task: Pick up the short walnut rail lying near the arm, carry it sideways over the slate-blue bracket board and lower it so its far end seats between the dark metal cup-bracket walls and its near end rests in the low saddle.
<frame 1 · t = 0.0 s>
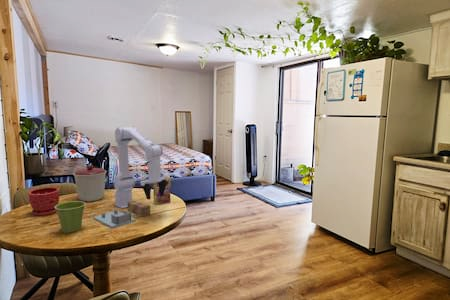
hand: (155, 197, 135), 10 cm above the table, tool pointing down, fingers open, 7 cm apart
candy box: (162, 203, 159), on the table
plant pot 2: (45, 213, 142), on the table
bracket board: (114, 219, 133), on the table
canister: (91, 199, 166), on the table
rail: (139, 213, 142), on the table
plant pot: (72, 230, 121), on the table
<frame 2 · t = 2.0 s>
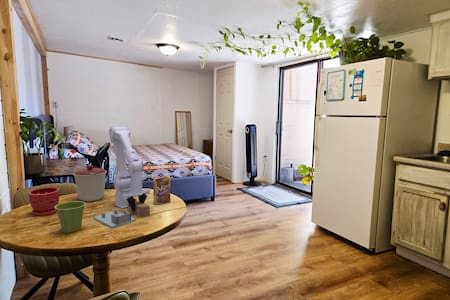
hand: (137, 209, 143), 1 cm above the table, tool pointing down, fingers closed on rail, 4 cm apart
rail: (138, 213, 142), on the table, touching gripper
everything else where it was.
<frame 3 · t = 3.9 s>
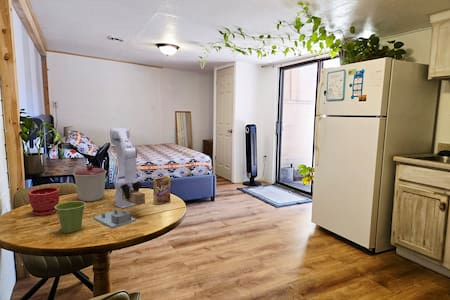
hand: (131, 197, 140), 8 cm above the table, tool pointing down, fingers closed on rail, 4 cm apart
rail: (133, 201, 139), point 7 cm above the table, touching gripper
everything else where it was.
when the fingers open (3 cm above the table, at t = 6.0 s): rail stays where it is, resting on bracket board.
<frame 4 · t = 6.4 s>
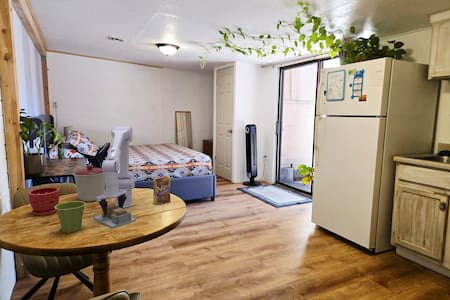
hand: (113, 212, 133), 3 cm above the table, tool pointing down, fingers open, 7 cm apart
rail: (115, 218, 132), point 1 cm above the table, touching bracket board
everything else where it was.
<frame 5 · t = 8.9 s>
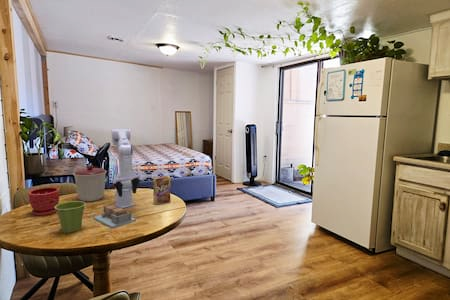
hand: (127, 194, 140), 10 cm above the table, tool pointing down, fingers open, 7 cm apart
nothing on the table moved.
at the end: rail 0.2 cm off-centre on the bracket board, point 1.0 cm above the bracket board's base; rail tilted 0°; the gripper is holding nothing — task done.
